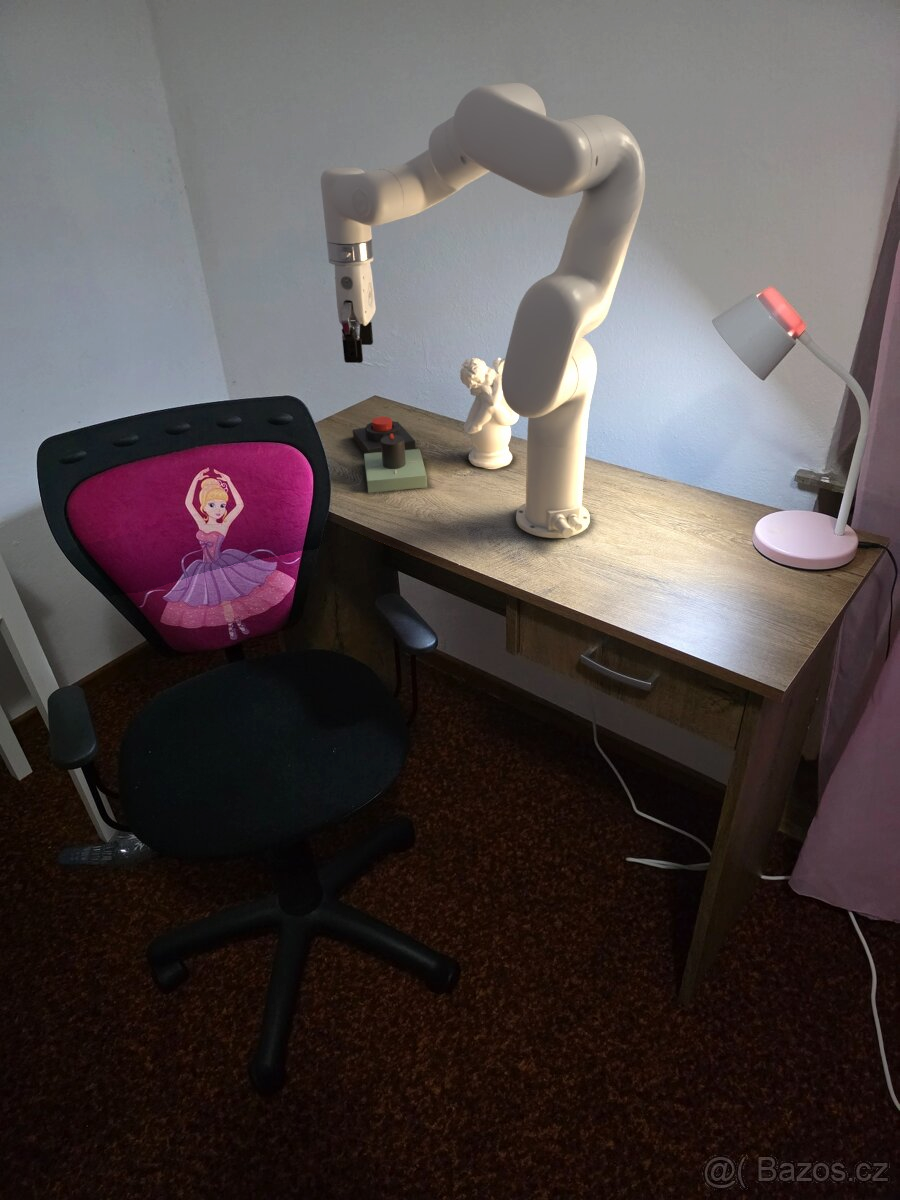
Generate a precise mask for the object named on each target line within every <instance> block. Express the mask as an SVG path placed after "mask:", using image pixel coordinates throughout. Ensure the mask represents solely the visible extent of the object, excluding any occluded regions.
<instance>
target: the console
mask: <svg viewBox="0 0 900 1200" xmlns="http://www.w3.org/2000/svg"><path fill="white" fill-rule="evenodd" d="M363 456H364V457H363V458H364V468H365V476H366V485H367V493H379V492H381V493H382V492H392V491H403V490H414V489H426V488H428V481H427V479H428V478H427V472H426V469H425V465H424V461H423V457H422V454H421V450H420V448H415V449H413V450H405V460H406V464H405V466H403V467H401V468H398V469H388V468H385V467H384V466H383V462H382V452H378V453H367V454H364V453H363Z"/></svg>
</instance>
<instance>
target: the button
mask: <svg viewBox="0 0 900 1200" xmlns="http://www.w3.org/2000/svg"><path fill="white" fill-rule="evenodd" d="M392 421H393V419H392V418H391V417H388V416H378V417H374V418H373V419H372V421H371V422H372V425H373V430H375V431H388V430H390V429H392Z"/></svg>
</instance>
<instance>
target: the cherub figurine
mask: <svg viewBox="0 0 900 1200" xmlns="http://www.w3.org/2000/svg"><path fill="white" fill-rule="evenodd" d="M504 362H505V358H501V357H497V358H496V359H495V360H493V361H492V367H490V366H487V364H486V362H485V361H484V359H480V358H478V357H477V356H476V357H471V358H468V359H466V360H464V362H463V363H462V365H461V368H460V371H459V372H460V374H459V377H460V381H461V383H462V384H463V385H464V386H466V387H467V388H468V389H470V395H471V396H473V397H475V398H474V401H473V402H472V404H471V407H470V409H469V411H468V415H467V417H466V419H465V422H464V424H463V426H462V430H463V431H465V433H466V434H468V435H470V439H471V443H472V448H471V449H472V450H471V451H470V452H469V454H468V460H469V462H470V464H471V465H472V466H474V467H477V468H483V469H487V470H496V469H499V468H503V467H505V466H508V465H510V463H511V462H512V460H513V454H512V452H510V450H509V448H510V447H509V443H510V441H511V437H512V430H511V426H513V425H515V424H516V423H517V422H518V420H519V418H520V415H518V414H516V413H515V412H514V411H513V410H512V409H511V408H510V407H509V406H508V404H507V403H506V401H505V398H504V396H503V392H502V385H501V379H502V371H503V366H504Z"/></svg>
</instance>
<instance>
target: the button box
mask: <svg viewBox="0 0 900 1200" xmlns="http://www.w3.org/2000/svg"><path fill="white" fill-rule="evenodd" d="M392 433H393V435H399V436H402V437H403V438H404V445H405V450H413V449H416V440H415V439H414V438H413V436H411V435H410V434H409V433H408V432H407V430H406V428H404V427H403V426H402V425H401V424H400V423H399V421H394V420H392V429H390V430H388V431H375V430H373V425H372V421H371V422H369V423H368V424H366V426H365V427H361V428H360V427H359V428H354V429H352V437H353V441H354V442H355V443H356V445H357V446H358V447H359V448H360V450H361V451H362V452H363V455H364V454H367V453H378V452H382V450H381V439H382V438H383V437H385V436H388V435H390V434H392Z"/></svg>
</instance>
